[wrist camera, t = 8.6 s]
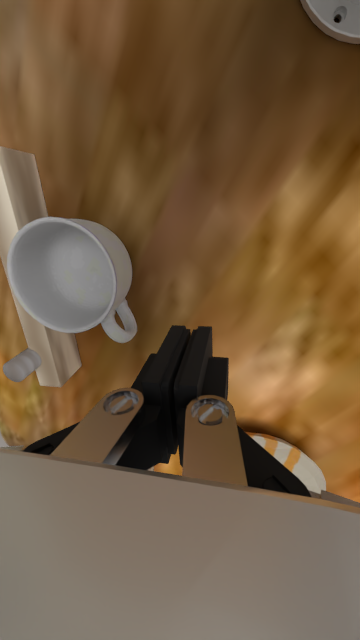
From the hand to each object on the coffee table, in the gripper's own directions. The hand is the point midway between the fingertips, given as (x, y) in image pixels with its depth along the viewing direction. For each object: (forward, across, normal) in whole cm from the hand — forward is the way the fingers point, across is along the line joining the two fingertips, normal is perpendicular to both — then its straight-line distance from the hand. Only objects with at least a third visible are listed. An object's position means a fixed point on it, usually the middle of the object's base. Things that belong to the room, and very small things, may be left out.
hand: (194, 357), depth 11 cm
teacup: (+19, +14, +1) cm, 24 cm away
